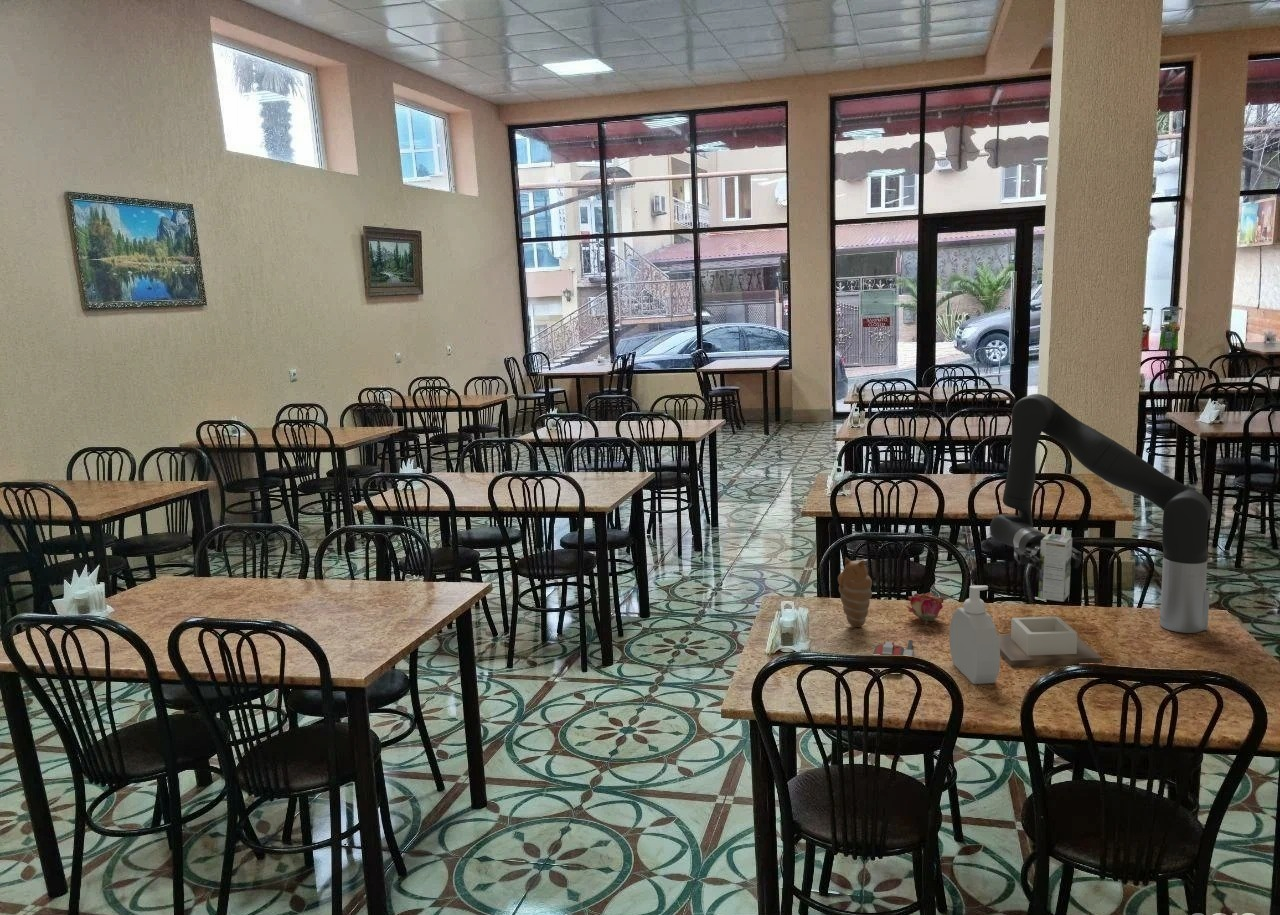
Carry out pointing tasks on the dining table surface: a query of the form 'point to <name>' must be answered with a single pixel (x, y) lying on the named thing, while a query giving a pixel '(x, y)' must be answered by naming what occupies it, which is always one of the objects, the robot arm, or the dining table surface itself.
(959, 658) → the soap bottle
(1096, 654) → the walnut stand
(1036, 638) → the white open square box
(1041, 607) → the dining table surface
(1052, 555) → the syrup box
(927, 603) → the flower
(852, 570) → the cat ice cream
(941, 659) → the dining table surface
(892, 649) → the walkie-talkie
